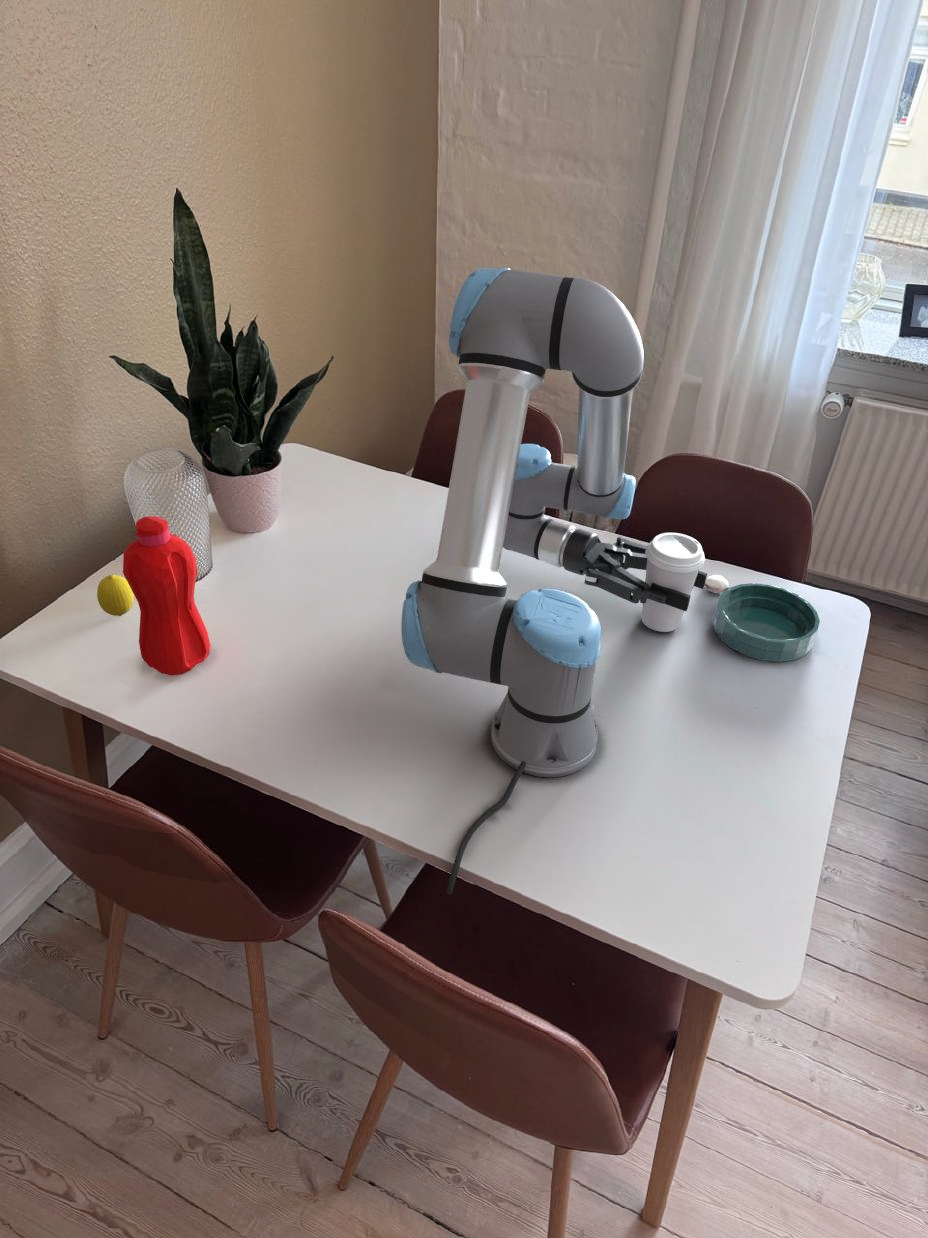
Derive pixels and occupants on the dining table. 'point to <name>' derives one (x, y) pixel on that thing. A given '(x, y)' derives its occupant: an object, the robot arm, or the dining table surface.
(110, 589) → the lemon
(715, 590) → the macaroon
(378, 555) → the dining table surface
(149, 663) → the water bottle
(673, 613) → the coffee cup
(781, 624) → the bowl
